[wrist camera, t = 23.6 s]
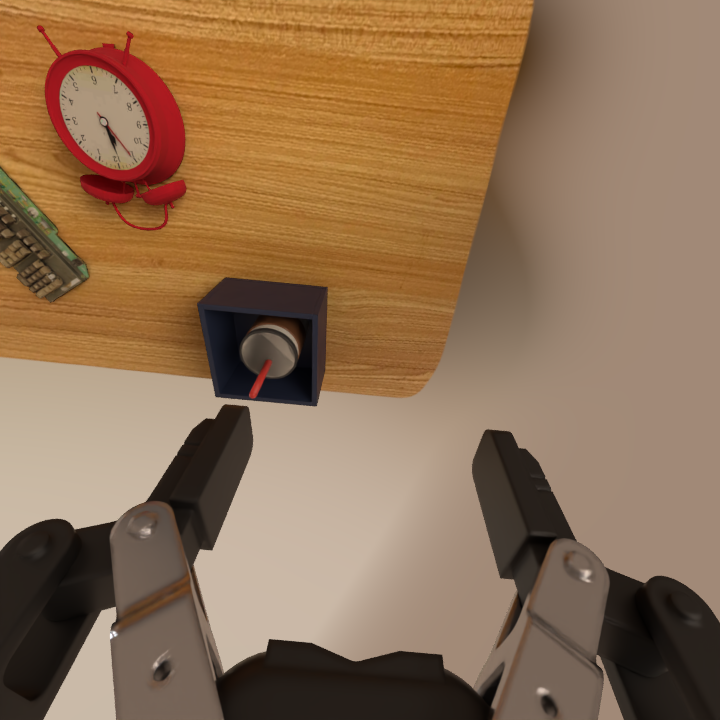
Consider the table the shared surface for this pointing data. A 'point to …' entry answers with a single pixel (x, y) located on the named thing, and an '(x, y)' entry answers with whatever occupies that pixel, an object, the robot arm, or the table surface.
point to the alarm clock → (117, 124)
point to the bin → (235, 318)
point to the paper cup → (273, 347)
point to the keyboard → (35, 245)
